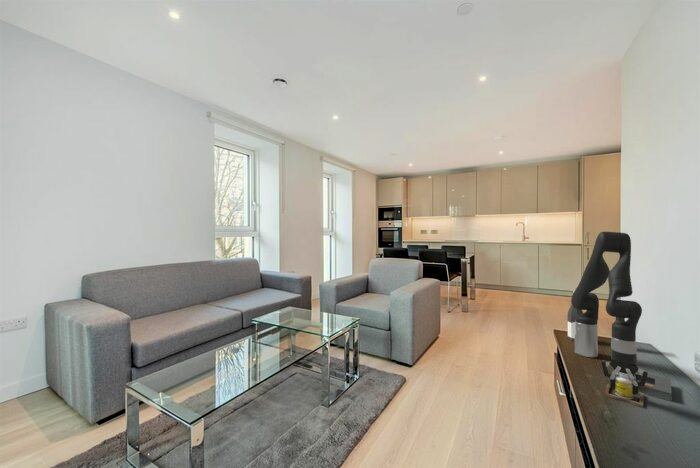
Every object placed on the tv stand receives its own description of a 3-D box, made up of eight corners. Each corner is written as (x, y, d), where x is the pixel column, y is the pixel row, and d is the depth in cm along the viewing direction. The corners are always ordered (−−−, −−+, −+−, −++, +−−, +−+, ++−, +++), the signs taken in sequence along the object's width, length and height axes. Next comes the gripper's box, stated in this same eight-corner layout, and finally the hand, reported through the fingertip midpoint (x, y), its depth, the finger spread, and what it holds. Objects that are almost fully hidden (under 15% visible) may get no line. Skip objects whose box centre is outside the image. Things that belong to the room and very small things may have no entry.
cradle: (604, 395, 116) (604, 393, 116) (607, 385, 123) (607, 383, 123) (642, 407, 108) (642, 404, 108) (643, 395, 115) (643, 393, 115)
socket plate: (615, 385, 123) (615, 378, 123) (619, 372, 134) (619, 365, 134) (671, 401, 111) (671, 393, 111) (670, 385, 122) (670, 378, 122)
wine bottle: (581, 338, 177) (581, 289, 177) (586, 342, 170) (585, 292, 170) (566, 336, 181) (565, 289, 181) (569, 340, 173) (569, 291, 173)
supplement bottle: (611, 392, 118) (611, 368, 118) (623, 391, 118) (623, 368, 118) (624, 400, 113) (624, 375, 113) (637, 399, 113) (637, 374, 113)
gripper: (649, 352, 113) (649, 394, 113) (601, 342, 123) (601, 381, 123) (649, 357, 108) (649, 402, 108) (598, 347, 118) (599, 387, 118)
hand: (623, 390), depth 116 cm, fingers closed on supplement bottle, 5 cm apart
